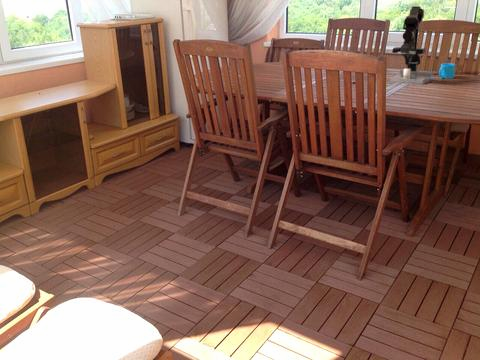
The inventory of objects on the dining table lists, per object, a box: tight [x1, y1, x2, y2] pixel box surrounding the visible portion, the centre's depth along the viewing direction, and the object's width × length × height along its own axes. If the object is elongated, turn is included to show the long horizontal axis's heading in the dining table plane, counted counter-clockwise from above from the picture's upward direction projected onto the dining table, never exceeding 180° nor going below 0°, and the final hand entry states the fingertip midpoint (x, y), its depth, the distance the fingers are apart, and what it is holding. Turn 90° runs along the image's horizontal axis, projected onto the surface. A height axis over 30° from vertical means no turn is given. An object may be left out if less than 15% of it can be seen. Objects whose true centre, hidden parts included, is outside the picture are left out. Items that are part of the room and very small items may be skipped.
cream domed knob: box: [403, 67, 411, 77], centre depth 308 cm, size 4×4×7 cm
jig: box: [390, 69, 434, 85], centre depth 306 cm, size 16×20×4 cm
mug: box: [438, 62, 456, 79], centre depth 309 cm, size 12×8×8 cm
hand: (407, 65), depth 306 cm, fingers closed
